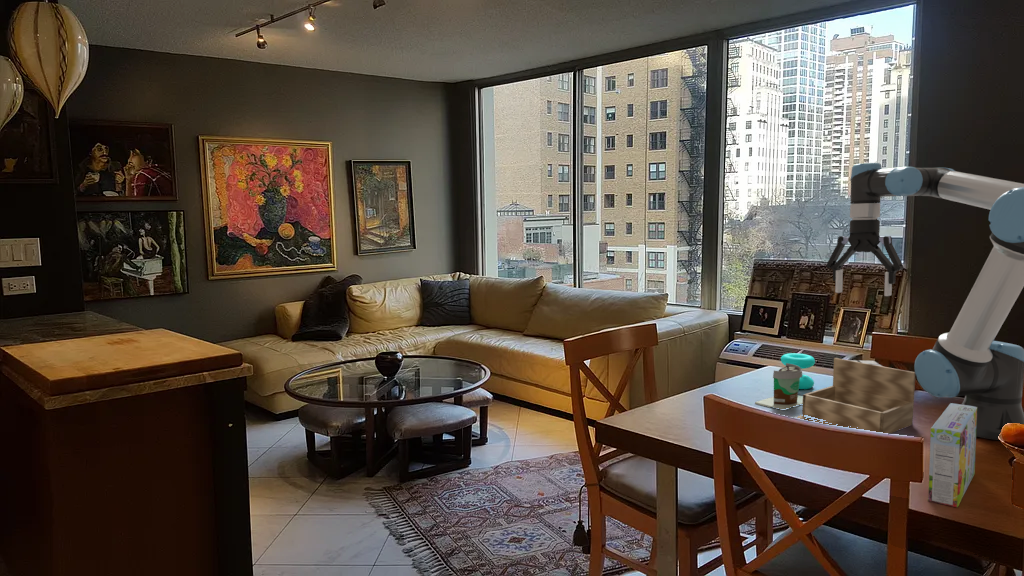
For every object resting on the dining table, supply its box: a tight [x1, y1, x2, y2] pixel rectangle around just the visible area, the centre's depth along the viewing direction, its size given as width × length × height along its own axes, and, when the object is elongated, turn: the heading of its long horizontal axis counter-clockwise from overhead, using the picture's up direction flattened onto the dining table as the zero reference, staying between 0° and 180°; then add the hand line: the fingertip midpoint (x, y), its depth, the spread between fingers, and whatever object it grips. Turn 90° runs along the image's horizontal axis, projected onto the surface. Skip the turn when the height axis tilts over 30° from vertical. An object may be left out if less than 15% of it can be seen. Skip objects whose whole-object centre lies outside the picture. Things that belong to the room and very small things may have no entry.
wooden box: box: [797, 357, 916, 434], centre depth 179 cm, size 22×22×14 cm
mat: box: [754, 394, 803, 409], centre depth 199 cm, size 9×16×1 cm, turn 125°
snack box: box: [927, 402, 977, 508], centre depth 138 cm, size 21×6×15 cm, turn 139°
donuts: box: [780, 352, 816, 390], centre depth 215 cm, size 10×10×10 cm
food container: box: [772, 363, 804, 405], centre depth 197 cm, size 12×6×10 cm, turn 141°
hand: (862, 294), depth 193 cm, fingers open, 13 cm apart
